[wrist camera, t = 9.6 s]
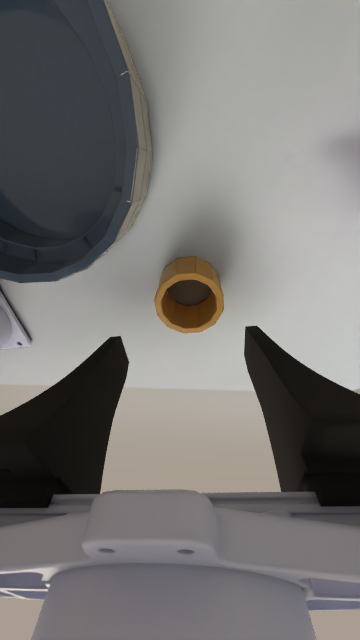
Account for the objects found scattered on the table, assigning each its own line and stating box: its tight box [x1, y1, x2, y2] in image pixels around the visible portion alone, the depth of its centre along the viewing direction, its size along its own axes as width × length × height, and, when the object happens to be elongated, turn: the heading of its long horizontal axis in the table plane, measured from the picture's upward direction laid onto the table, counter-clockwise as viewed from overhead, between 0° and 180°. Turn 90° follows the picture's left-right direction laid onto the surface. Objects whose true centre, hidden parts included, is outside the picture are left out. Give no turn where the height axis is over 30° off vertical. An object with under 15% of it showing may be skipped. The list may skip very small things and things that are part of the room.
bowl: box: [0, 0, 152, 283], centre depth 12 cm, size 15×15×5 cm
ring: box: [155, 256, 224, 333], centre depth 18 cm, size 5×5×4 cm
